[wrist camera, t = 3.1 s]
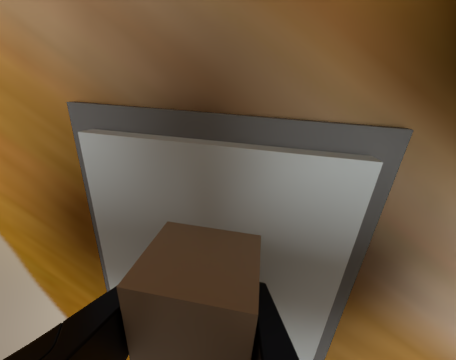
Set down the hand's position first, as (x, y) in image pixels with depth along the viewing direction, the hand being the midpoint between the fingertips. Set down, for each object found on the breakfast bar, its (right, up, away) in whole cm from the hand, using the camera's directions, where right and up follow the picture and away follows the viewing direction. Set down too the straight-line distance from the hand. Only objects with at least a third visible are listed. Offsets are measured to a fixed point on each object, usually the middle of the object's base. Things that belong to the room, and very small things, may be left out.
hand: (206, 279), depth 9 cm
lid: (0, +1, +1) cm, 2 cm away
